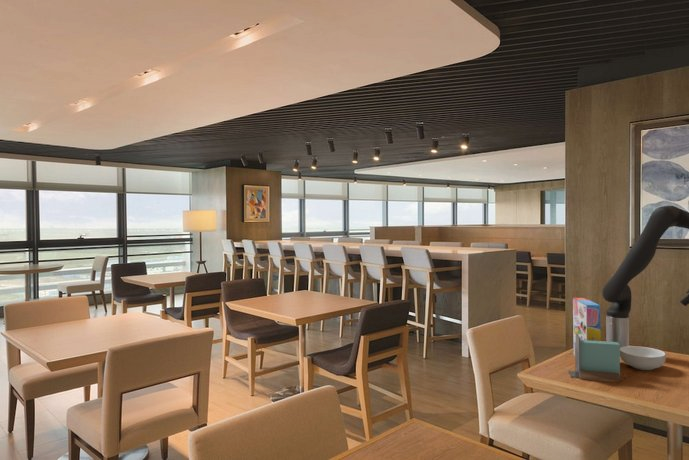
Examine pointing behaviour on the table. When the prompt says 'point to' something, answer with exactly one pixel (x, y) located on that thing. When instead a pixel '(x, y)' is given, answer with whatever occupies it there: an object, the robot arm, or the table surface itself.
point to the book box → (600, 356)
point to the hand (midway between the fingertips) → (682, 304)
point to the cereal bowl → (642, 357)
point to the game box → (586, 320)
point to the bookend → (577, 358)
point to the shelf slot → (597, 374)
